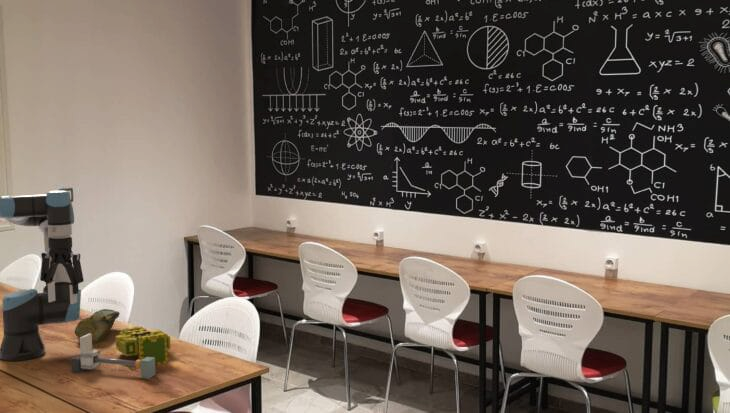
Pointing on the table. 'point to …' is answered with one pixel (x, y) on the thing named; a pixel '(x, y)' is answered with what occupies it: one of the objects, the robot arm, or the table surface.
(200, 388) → the table surface
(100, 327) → the stone
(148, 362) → the rail
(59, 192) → the robot arm
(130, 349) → the toy
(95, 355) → the cream l-shaped block
